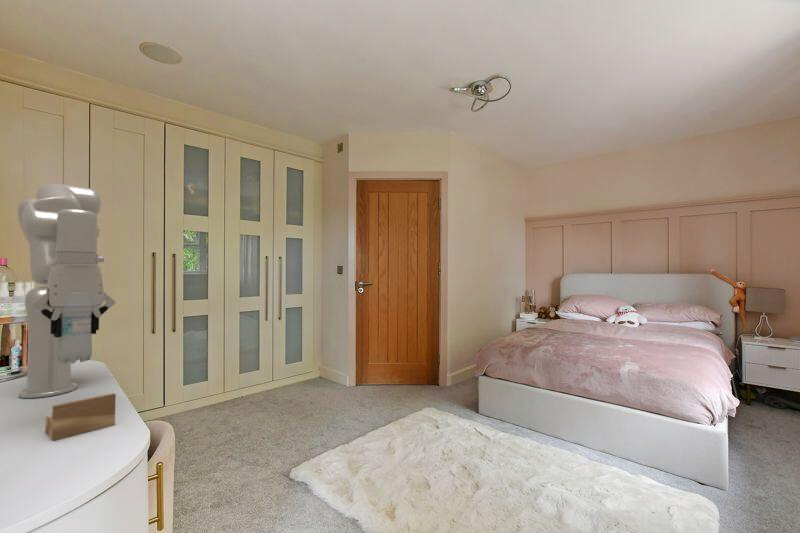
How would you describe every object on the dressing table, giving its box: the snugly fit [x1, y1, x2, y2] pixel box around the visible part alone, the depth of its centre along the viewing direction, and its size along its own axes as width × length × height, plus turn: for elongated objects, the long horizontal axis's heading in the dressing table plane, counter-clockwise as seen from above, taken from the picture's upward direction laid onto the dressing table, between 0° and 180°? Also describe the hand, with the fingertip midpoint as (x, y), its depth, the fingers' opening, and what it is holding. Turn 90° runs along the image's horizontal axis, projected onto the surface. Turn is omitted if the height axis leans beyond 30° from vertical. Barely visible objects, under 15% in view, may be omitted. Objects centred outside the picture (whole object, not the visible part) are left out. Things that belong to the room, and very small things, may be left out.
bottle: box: [57, 291, 93, 364], centre depth 89 cm, size 7×7×20 cm
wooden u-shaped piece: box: [44, 392, 117, 441], centre depth 83 cm, size 8×11×7 cm
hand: (75, 334), depth 89 cm, fingers closed on bottle, 5 cm apart
